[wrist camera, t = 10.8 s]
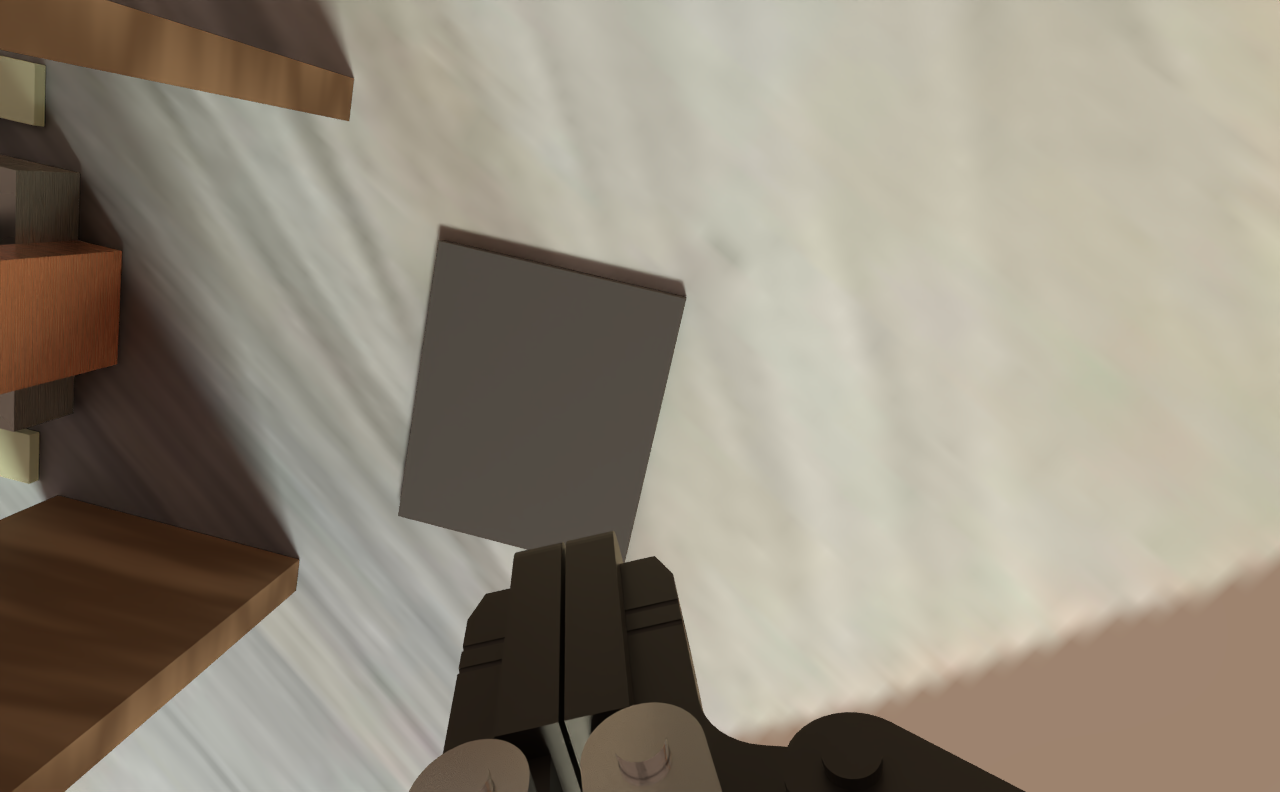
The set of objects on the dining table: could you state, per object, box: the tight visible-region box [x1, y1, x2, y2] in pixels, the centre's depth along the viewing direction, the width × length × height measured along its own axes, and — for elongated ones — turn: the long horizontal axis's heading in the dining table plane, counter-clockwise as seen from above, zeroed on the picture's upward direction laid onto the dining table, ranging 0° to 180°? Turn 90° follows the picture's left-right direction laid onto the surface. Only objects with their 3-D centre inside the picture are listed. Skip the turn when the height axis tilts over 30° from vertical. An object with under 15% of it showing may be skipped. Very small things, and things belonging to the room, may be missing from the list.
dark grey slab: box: [398, 240, 686, 563], centre depth 33 cm, size 12×10×1 cm
